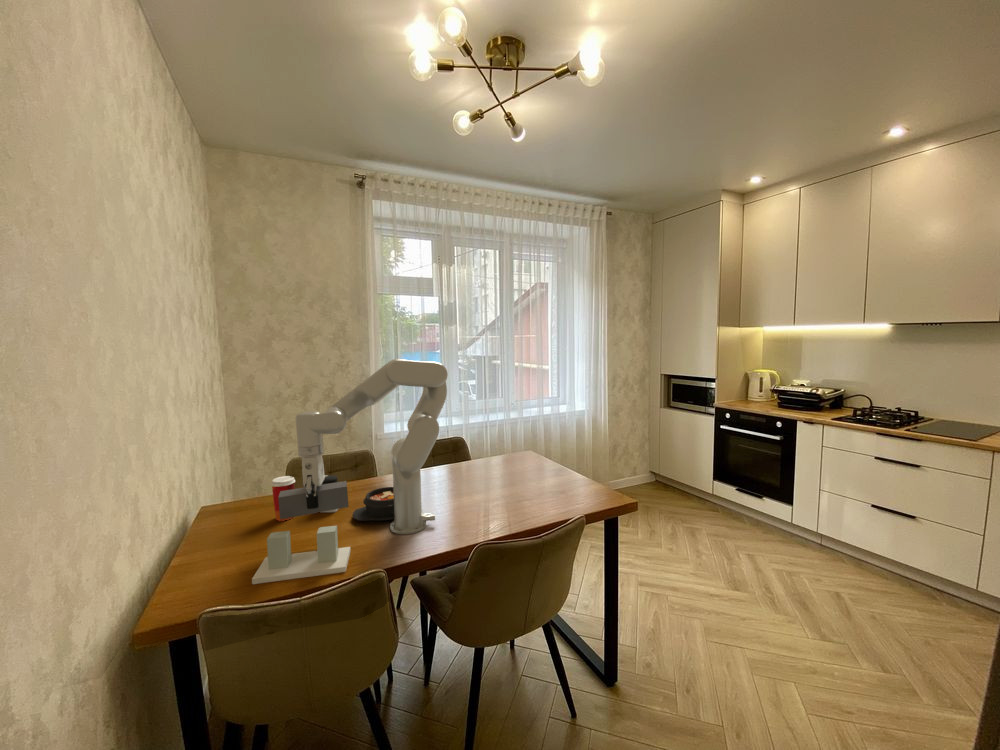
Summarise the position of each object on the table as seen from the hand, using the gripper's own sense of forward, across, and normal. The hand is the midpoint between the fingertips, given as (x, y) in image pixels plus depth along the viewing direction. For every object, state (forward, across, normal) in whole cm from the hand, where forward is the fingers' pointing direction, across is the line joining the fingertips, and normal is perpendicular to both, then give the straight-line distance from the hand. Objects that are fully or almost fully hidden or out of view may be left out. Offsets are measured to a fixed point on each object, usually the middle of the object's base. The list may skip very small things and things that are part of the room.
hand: (315, 503), depth 134 cm
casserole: (+14, +17, -22) cm, 31 cm away
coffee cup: (+13, +24, +16) cm, 32 cm away
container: (+14, +29, +1) cm, 32 cm away
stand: (+13, -15, +1) cm, 20 cm away
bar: (+2, 0, 0) cm, 2 cm away
